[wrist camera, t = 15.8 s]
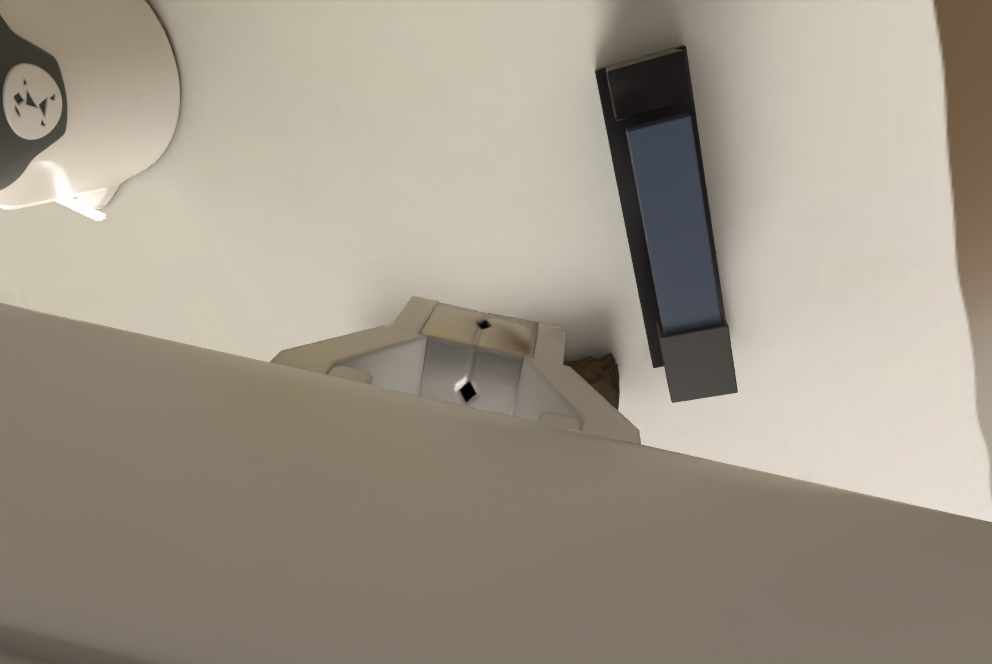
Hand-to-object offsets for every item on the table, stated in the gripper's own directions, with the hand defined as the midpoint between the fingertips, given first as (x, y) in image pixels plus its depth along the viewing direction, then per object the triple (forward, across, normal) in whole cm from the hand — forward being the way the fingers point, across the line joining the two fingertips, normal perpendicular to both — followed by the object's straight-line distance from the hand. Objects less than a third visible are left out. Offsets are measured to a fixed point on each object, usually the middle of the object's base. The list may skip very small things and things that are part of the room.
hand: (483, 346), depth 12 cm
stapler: (+31, -8, +4) cm, 32 cm away
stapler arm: (+26, -8, +5) cm, 27 cm away
